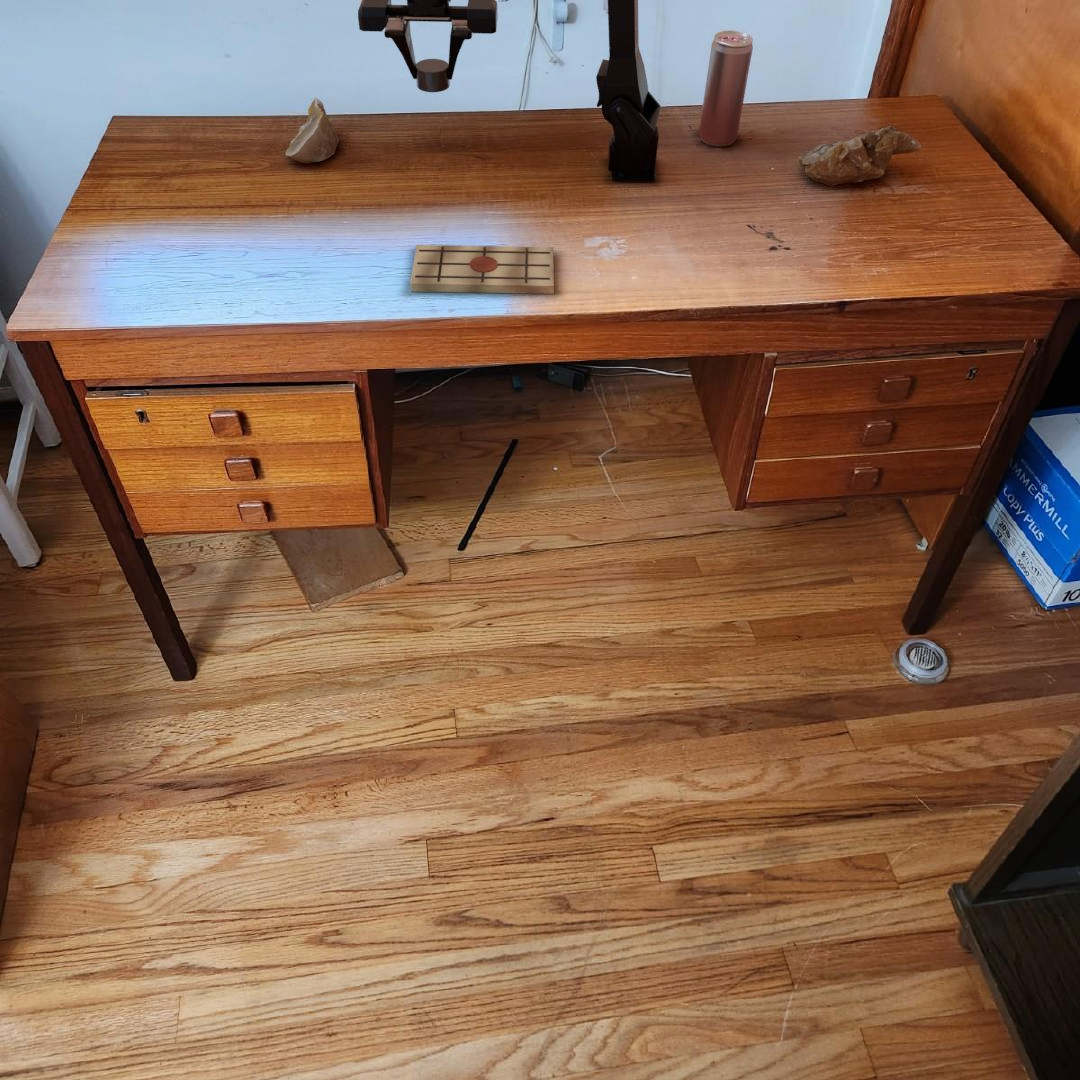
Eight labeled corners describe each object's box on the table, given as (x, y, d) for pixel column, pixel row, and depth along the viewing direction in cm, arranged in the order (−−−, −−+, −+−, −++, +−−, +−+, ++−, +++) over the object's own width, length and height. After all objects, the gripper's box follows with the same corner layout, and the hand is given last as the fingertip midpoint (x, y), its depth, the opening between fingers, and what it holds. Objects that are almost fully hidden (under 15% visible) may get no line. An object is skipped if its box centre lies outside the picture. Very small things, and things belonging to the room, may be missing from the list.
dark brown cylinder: (451, 78, 140) (450, 58, 138) (448, 92, 137) (447, 72, 135) (418, 78, 140) (416, 58, 138) (415, 92, 137) (413, 72, 135)
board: (553, 255, 127) (553, 246, 126) (553, 293, 121) (553, 284, 120) (417, 252, 127) (416, 243, 126) (410, 291, 121) (410, 282, 120)
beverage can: (698, 128, 152) (713, 28, 141) (736, 131, 152) (754, 31, 141) (697, 146, 148) (712, 44, 137) (736, 149, 148) (754, 47, 137)
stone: (286, 127, 136) (300, 76, 145) (282, 167, 140) (296, 115, 150) (337, 140, 137) (347, 89, 147) (331, 180, 142) (341, 128, 152)
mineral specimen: (849, 202, 151) (788, 192, 142) (844, 155, 150) (783, 143, 141) (925, 174, 140) (865, 161, 131) (920, 124, 140) (859, 108, 131)
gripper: (498, -62, 132) (499, 56, 143) (362, -65, 132) (375, 54, 143) (494, -34, 124) (497, 88, 136) (350, -37, 124) (365, 86, 136)
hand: (433, 78), depth 138 cm, fingers closed on dark brown cylinder, 5 cm apart
